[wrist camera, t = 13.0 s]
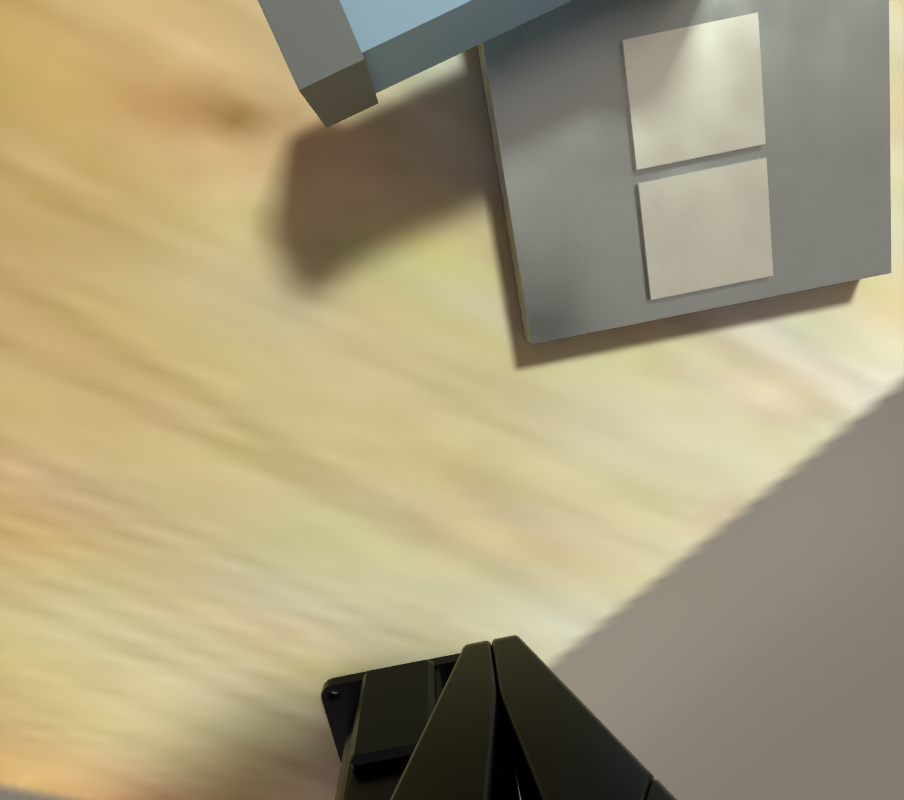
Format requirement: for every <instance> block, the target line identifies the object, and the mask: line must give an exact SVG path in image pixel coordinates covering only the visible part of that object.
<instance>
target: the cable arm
mask: <svg viewBox="0 0 904 800" xmlns="http://www.w3.org/2000/svg"><path fill="white" fill-rule="evenodd" d="M570 1H572V0H258V2H259V4H260V6H261V8H262V10H263V13H264V15H265V17H266V19H267V21H268V24H269V26H270V28H271V30H272V32H273V35H274V37H275V39H276V41H277V43H278V45H279V48H280V50H281V52H282V54H283V56H284V59H285V61H286V63H287V65H288V67H289V70H290V72H291V74H292V76H293V78H294V81H295V83H296V85H297V87H298V89H299V91H300V92H301V94H302V95H303V96H304V98H305V99H306V101H307V102H308V103H309V105H310V106H311V107H312V109H313V110H314V111H315V113H316V114H317V115H318V117H319V118H320V119H321V121H322V122H323V123H324V125H325V126H326V128H327V127H329V126H331V125H333V124H335V123H338V122H340V121H342V120H344V119H346V118H348V117H350V116H352V115H355V114H357V113H359V112H361V111H363V110H365V109H367V108H369V107H371V106H374V105H376V104H378V100H377V97H376V94H375V93H377V92H380V91H382V90H384V89H386V88H388V87H390V86H392V85H394V84H396V83H399V82H401V81H403V80H405V79H407V78H409V77H411V76H413V75H415V74H418V73H420V72H422V71H424V70H426V69H428V68H430V67H432V66H434V65H437V64H439V63H441V62H443V61H445V60H447V59H449V58H451V57H454V56H456V55H458V54H460V53H462V52H464V51H466V50H468V49H470V48H473V47H475V46H477V45H479V44H481V43H483V42H485V41H487V40H489V39H492V38H494V37H496V36H498V35H500V34H502V33H504V32H506V31H509V30H511V29H513V28H515V27H517V26H519V25H521V24H523V23H525V22H528V21H530V20H532V19H534V18H536V17H538V16H540V15H542V14H544V13H547V12H549V11H551V10H553V9H555V8H557V7H559V6H561V5H564V4H566V3H568V2H570Z"/></svg>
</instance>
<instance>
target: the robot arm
mask: <svg viewBox="0 0 904 800" xmlns="http://www.w3.org/2000/svg"><path fill="white" fill-rule="evenodd" d="M331 691H338V692H339V694H333V693H331ZM322 701H323V704H324V707H325V711H326V714H327V717H328V721H329V724H330V728H331V731H332V734H333V738H334V741H335V744H336V748H337V751H338V755H339V758H340V761H341V768H340V773H339V779H338V784H337V790H336V795H335V800H520V796H521V800H677V799H676V798H675V797H674V796H673V795H672V794H671V793H670V792H669V791H668V790H667V789H666V788H665V787H664V786H663V785H662V784H661V783H660V782H659V781H658V780H656V779H655V780H654V776H653V775H652V774H651V773H650V772H649V771H648V770H647V769H646V768H645V766H644V765H643V764H642V763H641V762H639V760H638V759H637V758H636V757H635V756H634V755H633V754H632V753H631V752H630V751H629V750H628V749H627V748H626V747H625V746H624V745H623V744H622V743H621V742H620V741H619V740H618V739H617V738H616V737H615V736H614V735H613V733H612V732H610V731H609V729H608V728H607V727H606V726H604V724H603V723H602V722H601V721H600V720H599V719H598V718H597V717H596V716H595V715H594V714H593V713H592V712H591V711H590V710H589V709H588V708H587V707H586V706H585V705H584V704H583V703H582V701H581V700H580V699H579V698H578V697H577V696H576V695H575V694H574V693H573V692H572V691H571V690H570V689H569V688H568V687H567V686H566V685H565V684H564V683H563V682H562V681H561V680H560V679H559V678H558V677H557V676H556V675H555V674H554V673H553V672H552V671H551V670H550V668H549V667H548V666H547V665H546V664H545V663H544V662H543V661H542V660H541V659H540V658H539V657H538V656H537V655H536V654H535V653H534V652H533V651H532V650H531V649H530V648H529V647H528V646H527V645H526V644H525V643H524V642H523V641H522V640H521V639H520V638H519V637H518V636H516V635H513V636H508V637H503V638H498V639H494V640H493V641H492V645H491V643H490V642H489V641H482V642H477V643H472V644H468V645H465V646H464V647H463V649H462V651H461V653H459V654H454V655H449V656H444V657H439V658H434V659H429V660H422V661H417V662H412V663H407V664H402V665H397V666H391V667H386V668H381V669H376V670H371V671H367V672H362V673H357V674H352V675H347V676H341V677H336V678H332V679H329V680H328V681H327V682H326V683H325V685H324V687H323V691H322ZM516 776H517V777H516ZM517 781H518V783H517ZM518 786H519V789H518ZM519 791H520V796H519Z"/></svg>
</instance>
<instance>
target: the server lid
mask: <svg viewBox="0 0 904 800" xmlns="http://www.w3.org/2000/svg"><path fill="white" fill-rule="evenodd" d="M477 47H478V53H479V60H480V66H481V72H482V78H483V84H484V90H485V96H486V102H487V108H488V114H489V120H490V126H491V132H492V139H493V145H494V151H495V157H496V163H497V169H498V175H499V181H500V187H501V193H502V199H503V205H504V212H505V218H506V224H507V230H508V236H509V242H510V248H511V254H512V260H513V266H514V272H515V278H516V285H517V291H518V297H519V303H520V309H521V315H522V321H523V327H524V333H525V339H526V341H528V342H529V343H530V344H537V343H542V342H547V341H552V340H557V339H562V338H567V337H572V336H577V335H582V334H587V333H592V332H597V331H602V330H607V329H612V328H617V327H622V326H627V325H632V324H637V323H642V322H647V321H652V320H657V319H662V318H667V317H672V316H677V315H682V314H687V313H692V312H697V311H702V310H707V309H712V308H717V307H722V306H727V305H732V304H738V303H743V302H748V301H753V300H758V299H763V298H768V297H773V296H778V295H783V294H788V293H793V292H798V291H803V290H808V289H813V288H818V287H823V286H828V285H833V284H838V283H843V282H848V281H853V280H858V279H863V278H868V277H873V276H878V275H883V274H888V273H891V197H890V84H889V0H572V1H570V2H568V3H566V4H564V5H561V6H559V7H557V8H555V9H553V10H551V11H549V12H547V13H544V14H542V15H540V16H538V17H536V18H534V19H532V20H530V21H528V22H525V23H523V24H521V25H519V26H517V27H515V28H513V29H511V30H509V31H506V32H504V33H502V34H500V35H498V36H496V37H494V38H492V39H489V40H487V41H485V42H483V43H481V44H479V45H477Z"/></svg>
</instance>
